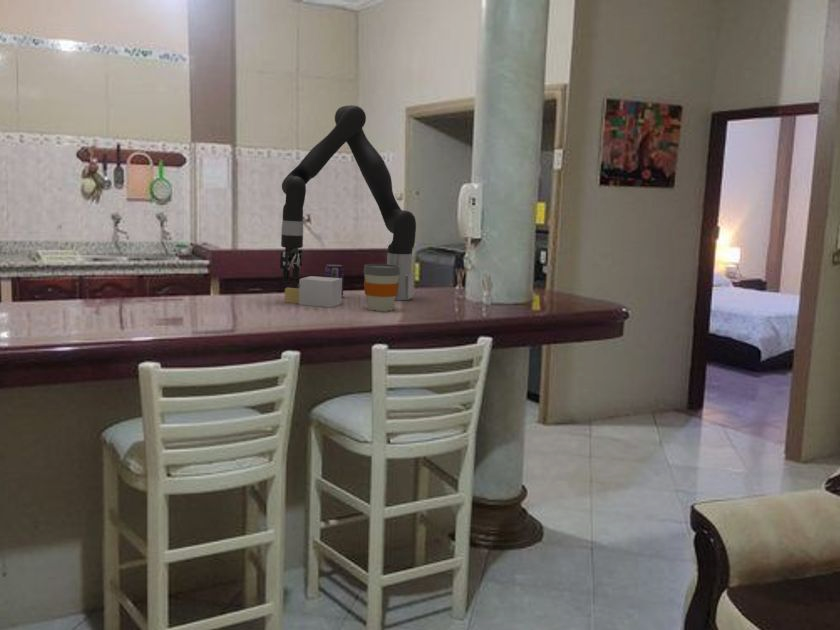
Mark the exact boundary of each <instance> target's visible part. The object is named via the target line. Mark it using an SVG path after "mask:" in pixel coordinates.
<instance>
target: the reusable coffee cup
mask: <svg viewBox="0 0 840 630" xmlns="http://www.w3.org/2000/svg"><path fill="white" fill-rule="evenodd" d="M362 273H363V274H364V275H363V276H364V281H363V285H364V295H365V297H366V306H367V307H366V308H367V310H370V311H374V310H376V311H375V312H389V311H388V310H391V311H393V310H394V308H395V302H396V301H395V296H397V291H398V285H399V283H398V278H399V275H400V269H399V266H397V265H389V264H387V263H386V264H385V263H367V264H364V267H363V272H362Z"/></svg>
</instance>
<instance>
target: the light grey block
mask: <svg viewBox="0 0 840 630" xmlns="http://www.w3.org/2000/svg"><path fill="white" fill-rule="evenodd" d="M297 288H299V303H298V305H300V306H310V307H311V306H312V307H321V308H322V307H324V308H334V307H337V306H338V305H341V304H342V297H343V296H342V278H329V277H325V276H314V275H313V276H312V275H309V276H305V277H302V278H299V283H297Z"/></svg>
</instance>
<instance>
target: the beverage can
mask: <svg viewBox="0 0 840 630" xmlns="http://www.w3.org/2000/svg"><path fill="white" fill-rule="evenodd" d="M344 273H345V272H344V268H343V265H342V264H338V263H337V264H335V263H334V264H331V263H329V264H326V265H325V268H324V277H329V278H342V297H343V295H344V278H345V277H344Z"/></svg>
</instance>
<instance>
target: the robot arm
mask: <svg viewBox="0 0 840 630" xmlns="http://www.w3.org/2000/svg"><path fill="white" fill-rule="evenodd" d="M366 116H367V115H366V112H365V111H364V109H363V108H362V107H360V106H358V105H352V104H351V105H349V104H348V105H344V106H341V107H340V106H339V108H338V109H336V111H335V114H334V123H335V126H334V127H333V129H332V130H331V131H330V132H329V133H328V134H327V135H326V136H325V137H324V138H323V139H322V140H320V141H319V142H318V143H317V144H316V145H315V146H313V147H312V149H310V150H309V152H308V153H307V154H306V155H305V156H304V158H303V159H302V160H301V161H300V163H299V164H298V165H297V166H296V167H294V168H293V170H291V172H289V173H288V174H287V176H286V177H284V178H283V180H282V183H281V190H282V191H283V194H285V203H284V205H283V208H282V221H281V239H280V240H281V241H280V242H281V243H280V246H281V247H282V248H284V251H283V250H282V251H280V257H279V258H280V260H279V261H280V263H279V268H280V269H281V270H282V281H283V282H289V281H290V274H291V267H292V276H291V278H292V279H295V280H298V279H300V278H299V277H300V268H301V267H302V266H303V249H301V248H303V246H304V205H305V200H306V192H307V187H306V185H307V184H308V182H309V181H310V180H311V179H313V178H315V177H317V175H318V174H319V173H320V172H321V171H322V170H323V169H324V167H325V166H326V165H327V163H329V161H330V160H331V158H333V156H334V155H335V154H336V153H337V152H338V151H339V149H341V148H342V146H343V145H344V144H346V143H347V145H348V147H349V149H350V151H351V152H352V156H353V158H354V160H355V163H356V165H357V166H358V169H359V171H360V173H361V175H362V177H363V179H364V181H365V183H366V185H367V187H368V188H369V190H370V192H371V195H372V196H373V199H374V201H375V202H376V204H377V207H378V209H379V211H380V215H381V216H382V220H383V222H384V225H385V227H386V230H388V231H389V232H390V233H391V234H392V241H391V243H390V244H388V245H387V259H386V260H387V261H386V264H389V265H397V266H399V269H400V275H399V278H398V283H399V285H398V291H397V296H395V300H396V301H409V300H411V299H412V297H413V280H414V279H413V278H414V277H413V273H412V268H413V267H412V264H413V263H412V261H413V248H414V247H415V242H416V234H417V233H416V232H417V222H416V217H415V215H414V214H413V212H411V211H409V210H402V209H401V207H400V204H399V203H398V202H397V199H396V197H395V195H394V191H393V183H392V177H391V174H390V171H389V169H388V167H387V164H386V163H385V161H384V159H383V157H382V156H381V155H380V153H379V152H378V150H377V149H376V148H375V147H374V146H373V144H372V143H371V142H370V141H369V139H368V138H367V136H366V134H365V132H364V129H363V128H364V126H365V124H366V121H367V120H366V119H367V117H366Z"/></svg>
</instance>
